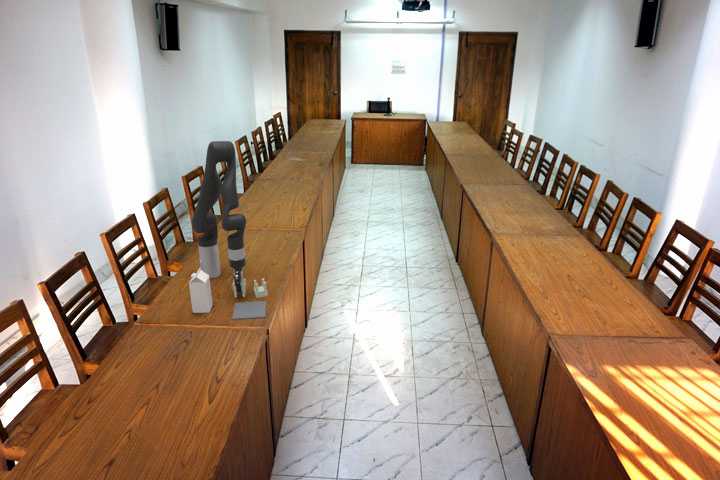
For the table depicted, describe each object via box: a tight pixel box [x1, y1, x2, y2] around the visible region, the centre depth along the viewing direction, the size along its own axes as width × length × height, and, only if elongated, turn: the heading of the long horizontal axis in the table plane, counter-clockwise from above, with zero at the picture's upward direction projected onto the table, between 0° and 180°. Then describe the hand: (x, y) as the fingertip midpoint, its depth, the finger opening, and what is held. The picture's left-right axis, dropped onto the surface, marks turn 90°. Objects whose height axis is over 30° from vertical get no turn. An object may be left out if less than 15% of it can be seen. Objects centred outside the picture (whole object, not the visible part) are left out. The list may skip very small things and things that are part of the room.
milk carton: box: [188, 267, 213, 314], centre depth 224 cm, size 7×7×19 cm
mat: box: [232, 300, 267, 321], centre depth 226 cm, size 14×14×1 cm
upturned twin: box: [253, 278, 269, 299], centre depth 239 cm, size 6×6×7 cm
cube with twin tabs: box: [232, 277, 247, 298], centre depth 237 cm, size 6×6×7 cm
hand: (239, 289), depth 237 cm, fingers closed on cube with twin tabs, 5 cm apart
